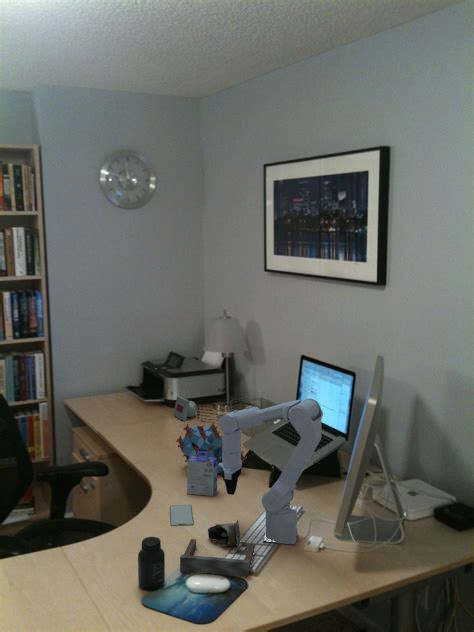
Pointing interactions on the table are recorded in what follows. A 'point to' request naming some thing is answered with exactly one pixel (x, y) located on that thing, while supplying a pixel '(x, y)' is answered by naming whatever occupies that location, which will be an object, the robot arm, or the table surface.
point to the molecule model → (203, 443)
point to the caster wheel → (225, 534)
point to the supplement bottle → (151, 565)
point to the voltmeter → (188, 409)
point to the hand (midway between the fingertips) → (231, 492)
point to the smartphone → (181, 515)
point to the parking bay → (215, 563)
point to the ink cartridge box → (202, 475)
